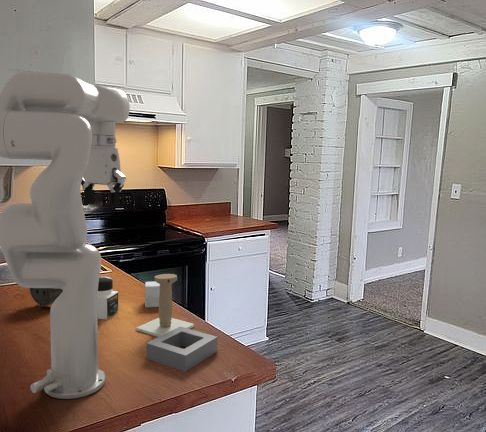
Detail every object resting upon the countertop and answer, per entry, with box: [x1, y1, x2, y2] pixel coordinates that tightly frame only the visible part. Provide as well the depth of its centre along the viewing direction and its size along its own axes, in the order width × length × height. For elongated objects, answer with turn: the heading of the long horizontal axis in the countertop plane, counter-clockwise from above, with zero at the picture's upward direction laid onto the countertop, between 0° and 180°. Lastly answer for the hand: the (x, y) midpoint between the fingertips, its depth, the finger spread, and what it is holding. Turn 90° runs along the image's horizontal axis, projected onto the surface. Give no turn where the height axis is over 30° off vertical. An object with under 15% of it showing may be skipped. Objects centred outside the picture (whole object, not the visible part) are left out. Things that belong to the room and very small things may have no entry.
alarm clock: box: [28, 288, 63, 310], centre depth 144 cm, size 11×5×16 cm, turn 65°
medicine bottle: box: [97, 276, 119, 321], centre depth 140 cm, size 7×7×12 cm
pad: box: [135, 317, 195, 338], centre depth 131 cm, size 12×12×1 cm
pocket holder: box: [145, 327, 218, 372], centre depth 114 cm, size 13×12×4 cm
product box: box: [144, 280, 160, 308], centre depth 152 cm, size 6×6×7 cm
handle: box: [154, 273, 178, 327], centre depth 130 cm, size 5×6×15 cm
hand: (101, 205), depth 123 cm, fingers open, 9 cm apart
